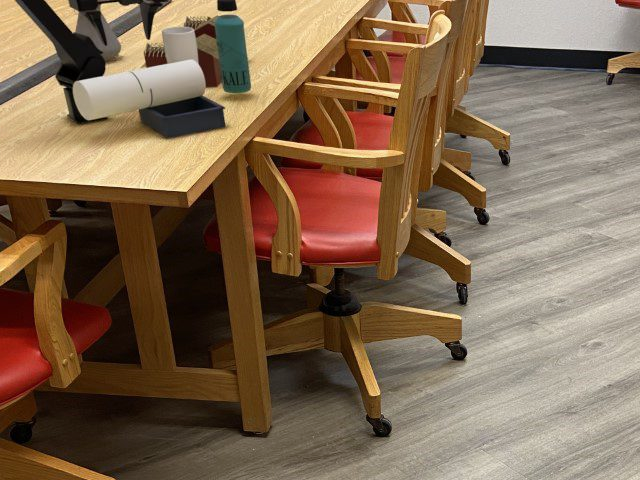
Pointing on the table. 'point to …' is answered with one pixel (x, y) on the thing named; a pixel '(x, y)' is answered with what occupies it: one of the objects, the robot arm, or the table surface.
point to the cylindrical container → (138, 89)
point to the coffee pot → (88, 30)
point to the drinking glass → (179, 44)
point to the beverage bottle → (232, 49)
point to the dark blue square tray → (184, 117)
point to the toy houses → (205, 48)
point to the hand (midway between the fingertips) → (127, 42)
